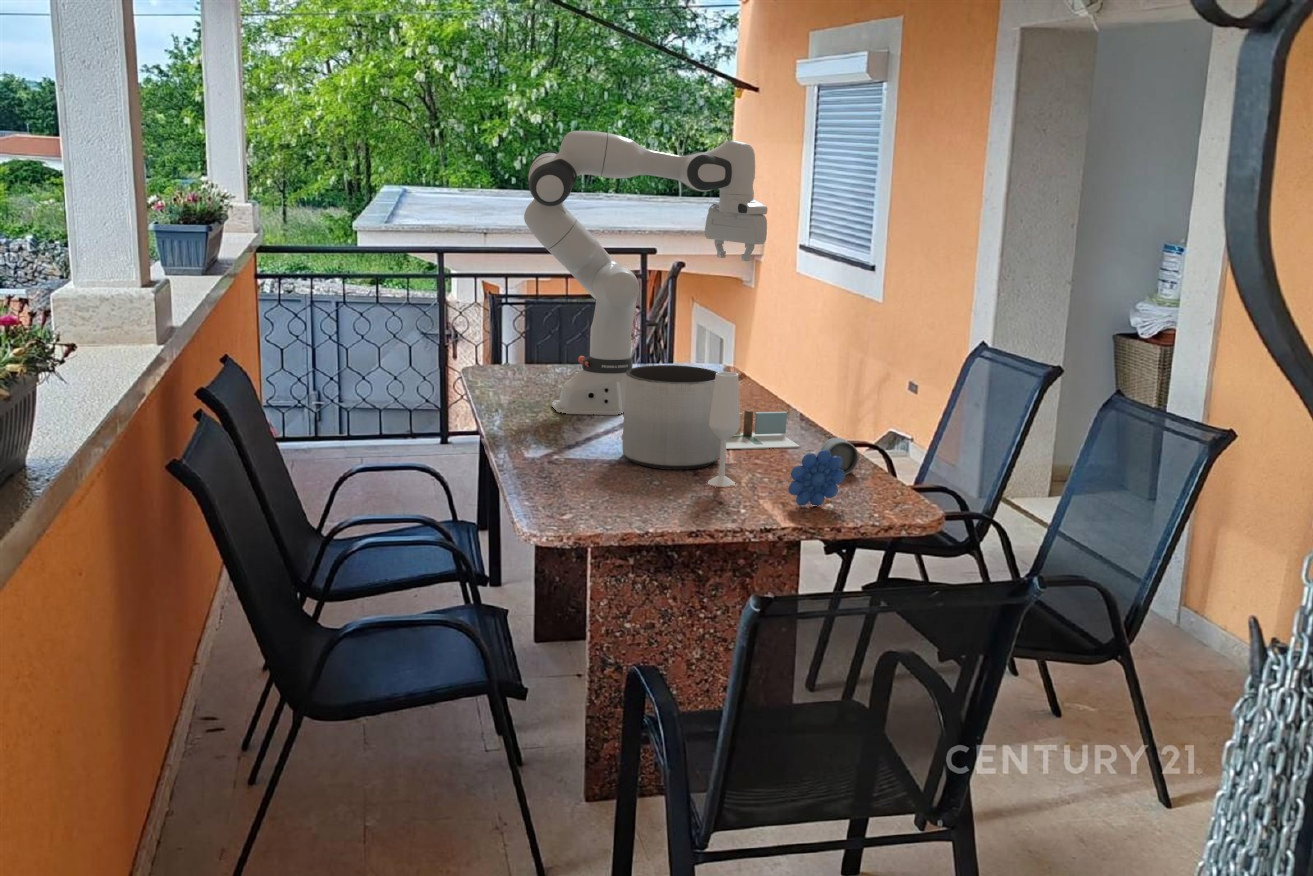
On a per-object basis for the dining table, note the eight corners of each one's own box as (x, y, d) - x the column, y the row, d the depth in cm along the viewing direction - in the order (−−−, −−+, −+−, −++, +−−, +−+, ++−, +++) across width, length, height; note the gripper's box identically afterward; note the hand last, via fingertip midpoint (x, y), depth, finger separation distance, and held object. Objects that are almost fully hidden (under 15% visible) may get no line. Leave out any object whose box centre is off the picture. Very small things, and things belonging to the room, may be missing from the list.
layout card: (717, 450, 292) (717, 448, 291) (699, 435, 306) (699, 433, 306) (799, 447, 297) (800, 445, 297) (778, 433, 311) (778, 431, 311)
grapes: (836, 500, 254) (840, 444, 251) (846, 509, 247) (850, 452, 244) (782, 500, 252) (785, 444, 249) (790, 510, 245) (794, 452, 243)
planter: (635, 473, 268) (639, 383, 264) (612, 448, 290) (614, 365, 285) (733, 470, 274) (737, 382, 270) (702, 445, 296) (706, 364, 291)
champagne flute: (711, 488, 259) (717, 377, 253) (701, 480, 265) (706, 371, 259) (741, 487, 260) (747, 376, 255) (730, 479, 267) (736, 370, 261)
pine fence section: (703, 439, 301) (704, 412, 300) (700, 437, 303) (701, 411, 302) (753, 438, 305) (754, 411, 303) (750, 436, 307) (751, 410, 305)
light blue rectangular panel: (755, 434, 305) (756, 413, 304) (754, 433, 306) (755, 412, 305) (786, 433, 307) (787, 412, 306) (784, 432, 308) (786, 411, 307)
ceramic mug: (849, 466, 282) (851, 433, 280) (858, 475, 274) (860, 442, 272) (803, 466, 281) (805, 433, 279) (811, 475, 273) (813, 442, 271)
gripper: (700, 203, 322) (698, 255, 325) (754, 207, 307) (751, 263, 310) (718, 203, 326) (715, 255, 329) (772, 207, 311) (769, 262, 314)
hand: (733, 259), depth 319 cm, fingers open, 8 cm apart
